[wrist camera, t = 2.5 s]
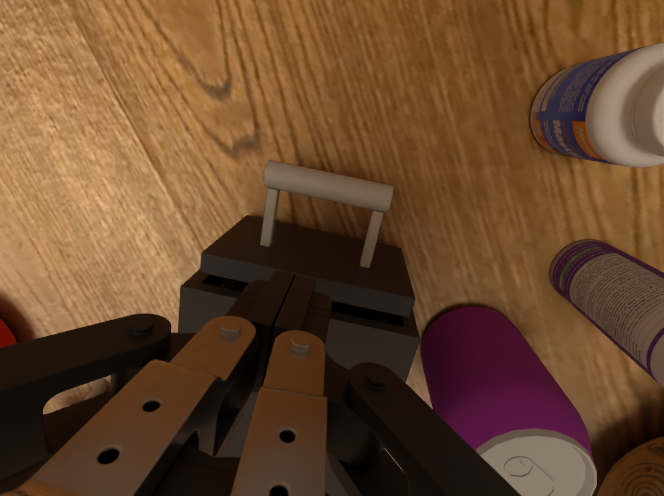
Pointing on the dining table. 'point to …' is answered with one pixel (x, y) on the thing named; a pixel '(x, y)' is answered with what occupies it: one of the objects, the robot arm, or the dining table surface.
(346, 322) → the black drawer box
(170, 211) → the dining table surface
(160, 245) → the dining table surface
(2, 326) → the tomato
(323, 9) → the dining table surface
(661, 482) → the ceramic bowl
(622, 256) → the container
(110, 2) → the dining table surface
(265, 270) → the sliding drawer
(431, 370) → the beverage can
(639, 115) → the pill bottle
